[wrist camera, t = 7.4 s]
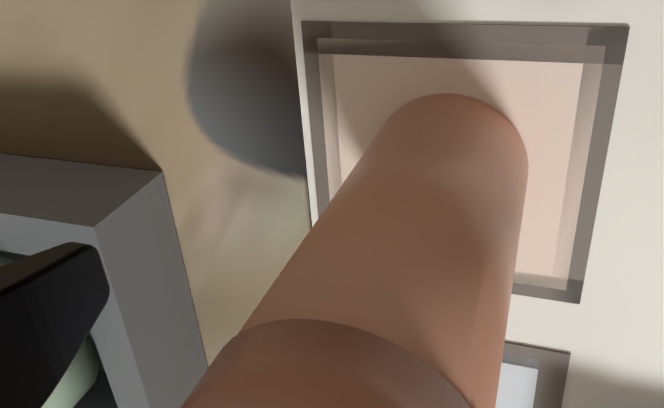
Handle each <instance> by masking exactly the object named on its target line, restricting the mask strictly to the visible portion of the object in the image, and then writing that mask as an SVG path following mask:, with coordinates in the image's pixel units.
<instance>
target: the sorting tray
mask: <svg viewBox="0 0 664 408" xmlns="http://www.w3.org/2000/svg"><path fill="white" fill-rule="evenodd" d="M290 2H291V13H292V23H293V34H294V44H295V54H296V64H297V74H298V84H299V95H300V106H301V116H302V126H303V136H304V147H305V157H306V167H307V178H308V188H309V198H310V208H311V219H312V227H313V226H314V224H315V223H316V221H317V220H318V218H319V217H320V216H321V214H322V213H323V211H324V210H325V208H326V207H327V205H328V204H329V203H330V201H331V200H332V198H333V197H334V195H335V194H336V193H337V191H338V190H339V188H340V187H341V185H342V184H343V182H344V181H345V180H346V178H347V177H348V175H349V174H350V172H351V171H352V170H353V168H354V167H355V165H356V164H357V162H358V161H359V159H360V158H361V157H362V155H363V154H364V152H365V151H366V149H367V148H368V147H369V145H370V144H371V142H372V141H373V139H374V138H375V136H376V135H377V134H378V132H379V131H380V129H381V128H382V126H383V125H384V124H385V122H386V121H387V119H388V118H389V117H390V116H391V115H392V114H393V113H394V112H395V111H396V110H398V109H399V108H400V107H402V106H403V105H405V104H407V103H408V102H410V101H412V100H415V99H417V98H420V97H423V96H427V95H432V94H439V93H452V94H461V95H465V96H469V97H473V98H475V99H478V100H481V101H483V102H485V103H487V104H489V105H491V106H492V107H494V108H495V109H497V110H498V111H499V112H501V113H502V114H503V115H504V116H505V117H506V118H507V119H508V120H509V121H510V122H511V123H512V124H513V126H514V127H515V128H516V130H517V131H518V133H519V135H520V136H521V138H522V141H523V143H524V145H525V148H526V152H527V156H528V164H529V169H528V180H527V187H526V195H525V202H524V209H523V216H522V223H521V230H520V237H519V244H518V251H517V258H516V265H515V272H514V279H513V286H512V293H511V300H510V307H509V314H508V321H507V328H506V335H505V343H504V350H503V357H502V364H501V371H500V378H499V385H498V392H497V399H496V406H495V408H664V0H290Z"/></svg>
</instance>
